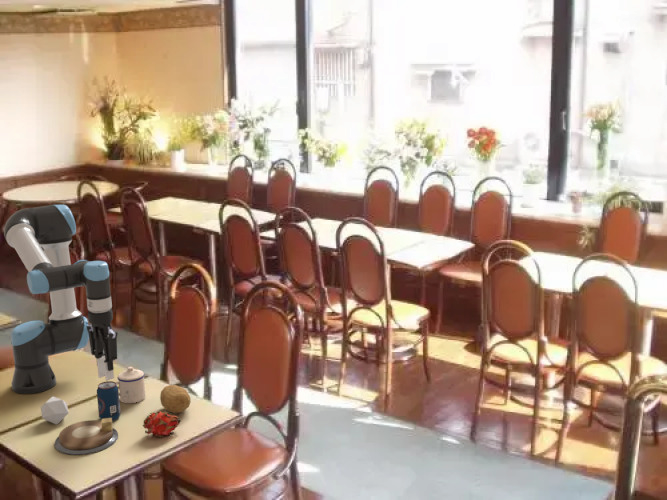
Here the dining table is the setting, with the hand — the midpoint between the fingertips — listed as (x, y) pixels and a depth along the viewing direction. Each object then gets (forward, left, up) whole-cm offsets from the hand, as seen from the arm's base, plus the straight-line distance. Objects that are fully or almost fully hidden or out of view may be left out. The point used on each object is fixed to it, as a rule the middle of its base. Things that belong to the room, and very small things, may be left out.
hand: (106, 377), depth 265 cm
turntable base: (+7, -14, -14) cm, 21 cm away
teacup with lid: (-7, +13, -15) cm, 21 cm away
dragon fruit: (+23, +3, -15) cm, 27 cm away
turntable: (+7, -14, -14) cm, 21 cm away
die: (-13, -12, -15) cm, 23 cm away
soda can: (0, 0, -15) cm, 15 cm away
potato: (+13, +17, -15) cm, 26 cm away
